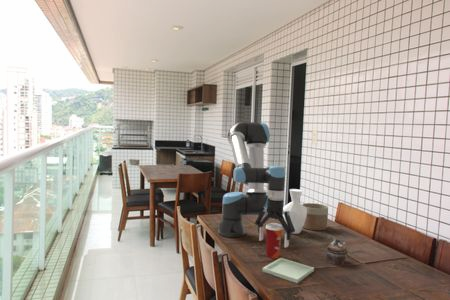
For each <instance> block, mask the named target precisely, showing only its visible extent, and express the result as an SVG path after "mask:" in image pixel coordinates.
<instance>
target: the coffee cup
mask: <svg viewBox="0 0 450 300" xmlns="http://www.w3.org/2000/svg"><path fill="white" fill-rule="evenodd" d="M264 229H265V231H266V232H265V251H266V253H265V256H266V257H267V258H270V259H279V258H280V250H281V244H282V243H281V242H282V233H283V230H284V227H283V226H282V224H281V223H276V222H268V223H266V224H265V226H264Z"/></svg>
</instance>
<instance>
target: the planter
mask: <svg viewBox="0 0 450 300" xmlns="http://www.w3.org/2000/svg"><path fill="white" fill-rule="evenodd" d="M301 204H302V203H301ZM302 205H303V206H304V207H305V208H306V209H307V216H306V220H305V223H304V226H303V228H304V229H306V230H309V231H316V232H317V231H324V230H327V228H328V221H329V219H328V217H329V206H327V205H325V204H322V203H321V204H320V203H314V202H313V203H312V202H309V203H305V202H304V203H303V204H302Z"/></svg>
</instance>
